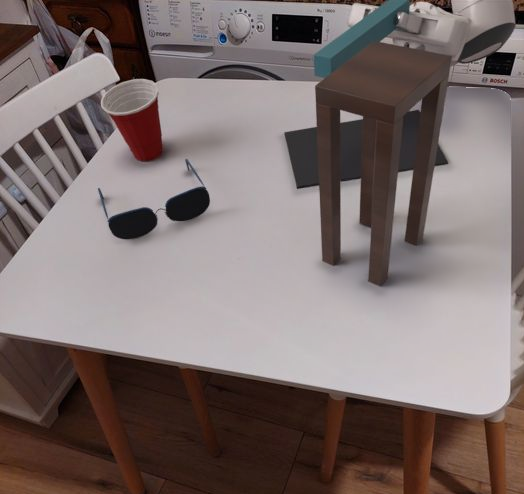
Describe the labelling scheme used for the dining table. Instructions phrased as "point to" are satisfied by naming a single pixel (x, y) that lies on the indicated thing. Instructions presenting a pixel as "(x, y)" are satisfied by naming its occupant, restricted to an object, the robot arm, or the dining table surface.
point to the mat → (349, 150)
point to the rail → (359, 37)
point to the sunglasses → (146, 220)
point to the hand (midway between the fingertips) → (386, 16)
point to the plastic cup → (136, 116)
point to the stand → (380, 142)
